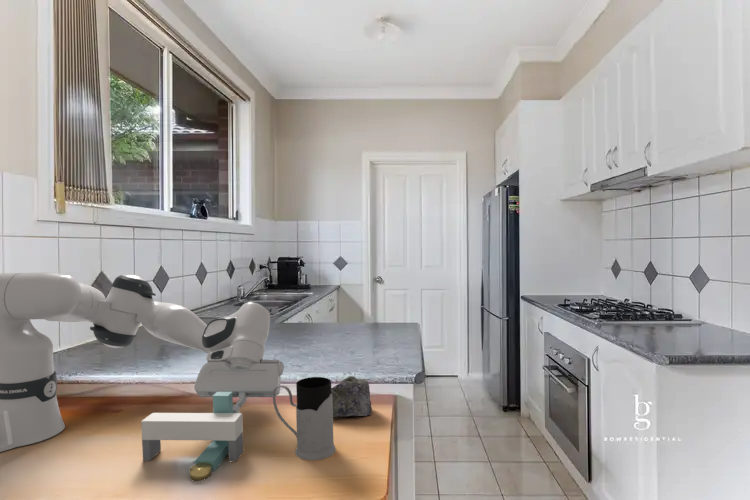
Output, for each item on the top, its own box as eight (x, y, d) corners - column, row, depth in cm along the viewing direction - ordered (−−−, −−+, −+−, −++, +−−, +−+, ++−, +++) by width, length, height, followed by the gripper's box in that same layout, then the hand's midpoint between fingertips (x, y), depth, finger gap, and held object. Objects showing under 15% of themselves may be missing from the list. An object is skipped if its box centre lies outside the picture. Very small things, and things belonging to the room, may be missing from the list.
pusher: (195, 470, 95) (193, 411, 95) (217, 444, 107) (215, 391, 106) (214, 470, 95) (212, 411, 95) (235, 444, 107) (233, 391, 106)
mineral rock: (315, 419, 120) (313, 380, 119) (331, 404, 130) (331, 368, 129) (363, 425, 116) (362, 384, 115) (376, 409, 126) (375, 371, 125)
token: (186, 481, 91) (185, 472, 91) (195, 471, 95) (195, 462, 95) (206, 482, 91) (205, 473, 91) (214, 471, 95) (214, 462, 95)
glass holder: (326, 462, 97) (325, 390, 97) (264, 454, 101) (262, 385, 101) (341, 443, 106) (339, 377, 105) (283, 437, 110) (281, 373, 109)
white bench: (143, 460, 100) (141, 421, 99) (154, 450, 104) (152, 412, 104) (236, 461, 98) (234, 421, 98) (243, 451, 103) (242, 413, 103)
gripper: (287, 366, 120) (278, 419, 111) (209, 366, 122) (193, 418, 113) (282, 353, 116) (272, 407, 106) (201, 353, 117) (184, 407, 108)
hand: (231, 413), depth 110 cm, fingers closed
